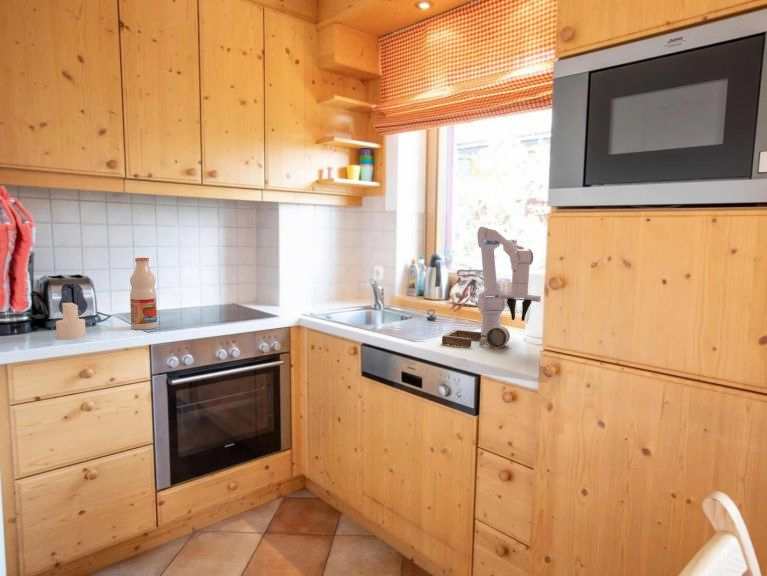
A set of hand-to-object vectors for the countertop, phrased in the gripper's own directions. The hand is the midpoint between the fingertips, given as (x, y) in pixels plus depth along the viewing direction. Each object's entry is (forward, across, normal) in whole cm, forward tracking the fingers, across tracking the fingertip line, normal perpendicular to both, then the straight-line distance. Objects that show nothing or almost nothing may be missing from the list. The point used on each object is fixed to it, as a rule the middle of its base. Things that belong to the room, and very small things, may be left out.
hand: (518, 320), depth 183 cm
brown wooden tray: (+10, -19, -3) cm, 22 cm away
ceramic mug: (+10, -8, -3) cm, 13 cm away
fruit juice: (+10, -138, -47) cm, 146 cm away
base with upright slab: (+10, -145, -72) cm, 162 cm away
